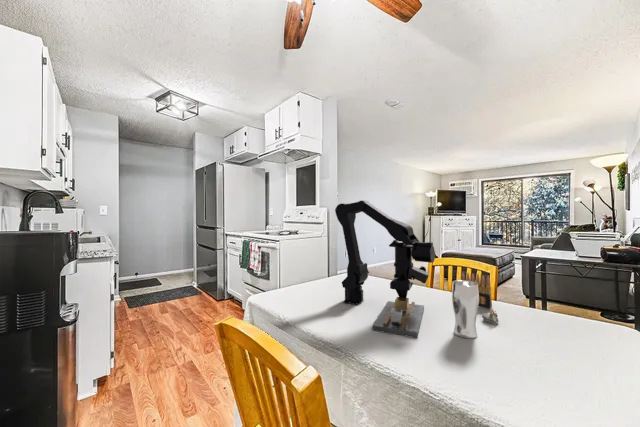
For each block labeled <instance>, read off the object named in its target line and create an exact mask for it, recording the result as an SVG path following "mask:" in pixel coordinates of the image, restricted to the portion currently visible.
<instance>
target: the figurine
mask: <svg viewBox="0 0 640 427" xmlns="http://www.w3.org/2000/svg"><path fill="white" fill-rule="evenodd" d="M489 308H490V309H489V312H486V313H485V312H484V313H482V315H481V317H482V321H484V322H486V323H489V324H492V325H497V324H498V323H499V318H498V314H497V310H494V309H493V307H492V308H491V306H490V307H489Z"/></svg>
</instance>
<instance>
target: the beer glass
mask: <svg viewBox="0 0 640 427" xmlns="http://www.w3.org/2000/svg"><path fill="white" fill-rule="evenodd" d="M451 287H452V288H451V301H452V307H453V312H454V321H455V322H454V328H453V333H454V335H455V336H458V337H459V338H463V339H471V340H472V339H476V338H477V337H478V332H477V326H476V323H477V322H476V321H477V315H478V311H479V306H478V305H479V292H478V284H477V283H476V281H475V282H472V281H471V280H470V281H466V279H465V280H461V279H458V280H452V286H451Z"/></svg>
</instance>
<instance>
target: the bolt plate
mask: <svg viewBox="0 0 640 427" xmlns="http://www.w3.org/2000/svg"><path fill="white" fill-rule="evenodd" d="M392 308H395V301H387V302H386V304H385V305H384V307H383V308H382V309H381V311H380V312H379V314H378V316H377V317H376V318H375V321H374V322H373V324H372V326H371V328H372V329H371V330H372V331H375V332H381V333H387V334H393V335H399V336H403V337H404V336H405V337H410V338H417V339H418V338H419V334H420V329H421V325H422V322H423V321H422V320H423V315H424V311H425V305H423V304H422V305H421V304H416V302H415V301H411V303H409V308H408V310H402V321H401V322H398V324H395V322H394V321H391V309H392Z"/></svg>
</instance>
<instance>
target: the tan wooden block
mask: <svg viewBox="0 0 640 427" xmlns="http://www.w3.org/2000/svg"><path fill="white" fill-rule="evenodd" d="M394 302H395V308H396V309H402V310H408V308H409V304H410V299H409V297H407V298H403V297H399V296H396V298H395V299H394Z"/></svg>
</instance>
